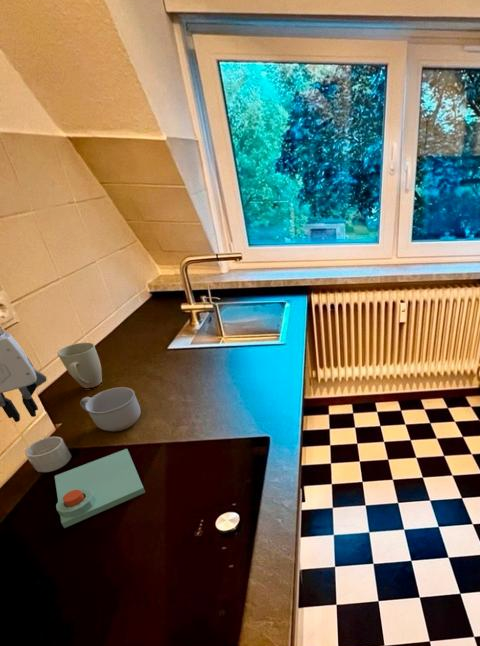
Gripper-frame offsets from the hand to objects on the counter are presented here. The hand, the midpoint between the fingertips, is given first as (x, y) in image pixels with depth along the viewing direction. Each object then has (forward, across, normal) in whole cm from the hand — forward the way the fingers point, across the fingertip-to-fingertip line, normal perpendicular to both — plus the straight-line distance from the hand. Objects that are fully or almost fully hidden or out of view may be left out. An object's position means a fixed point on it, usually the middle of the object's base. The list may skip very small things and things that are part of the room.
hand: (25, 415), depth 80 cm
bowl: (+13, 0, 0) cm, 13 cm away
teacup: (+13, +14, +8) cm, 21 cm away
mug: (+13, +12, +34) cm, 39 cm away
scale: (+13, +7, -15) cm, 21 cm away
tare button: (+11, +3, -20) cm, 23 cm away
